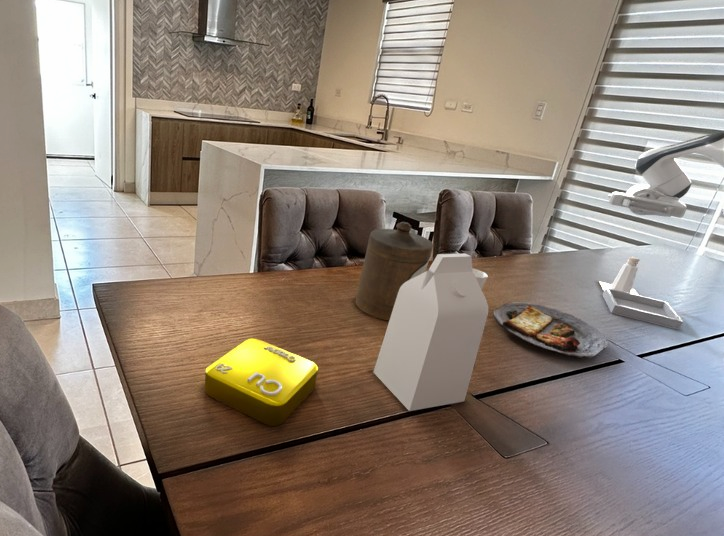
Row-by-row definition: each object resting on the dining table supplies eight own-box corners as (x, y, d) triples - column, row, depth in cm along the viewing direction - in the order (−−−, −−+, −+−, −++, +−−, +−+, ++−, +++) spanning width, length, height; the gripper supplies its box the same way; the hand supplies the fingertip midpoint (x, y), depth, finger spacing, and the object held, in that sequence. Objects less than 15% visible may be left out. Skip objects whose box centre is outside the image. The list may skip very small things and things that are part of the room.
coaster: (634, 290, 150) (634, 289, 150) (642, 301, 141) (642, 300, 141) (598, 282, 153) (599, 281, 153) (603, 292, 145) (604, 291, 145)
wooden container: (418, 326, 109) (442, 236, 101) (355, 315, 111) (373, 226, 102) (411, 300, 123) (432, 219, 114) (355, 290, 124) (371, 209, 116)
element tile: (318, 385, 84) (322, 362, 82) (276, 431, 72) (279, 405, 70) (248, 354, 90) (251, 333, 88) (199, 392, 78) (200, 368, 76)
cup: (450, 300, 126) (458, 272, 123) (456, 288, 134) (464, 262, 131) (477, 308, 123) (486, 280, 120) (482, 295, 131) (490, 269, 128)
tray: (663, 309, 137) (667, 301, 136) (678, 330, 125) (683, 321, 124) (602, 295, 143) (605, 287, 142) (611, 313, 130) (615, 304, 129)
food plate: (578, 374, 98) (584, 360, 96) (474, 325, 114) (479, 312, 112) (616, 343, 113) (622, 330, 112) (521, 304, 129) (525, 292, 127)
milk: (424, 365, 94) (459, 242, 84) (464, 401, 84) (509, 267, 74) (373, 372, 90) (403, 243, 79) (409, 411, 80) (449, 270, 70)
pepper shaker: (621, 294, 144) (636, 261, 140) (605, 286, 149) (619, 254, 144) (634, 294, 146) (649, 261, 141) (618, 286, 150) (632, 254, 146)
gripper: (611, 185, 162) (614, 191, 150) (684, 198, 153) (693, 205, 141) (604, 203, 164) (606, 210, 153) (675, 217, 155) (683, 225, 144)
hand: (648, 208), depth 147 cm, fingers open, 8 cm apart
